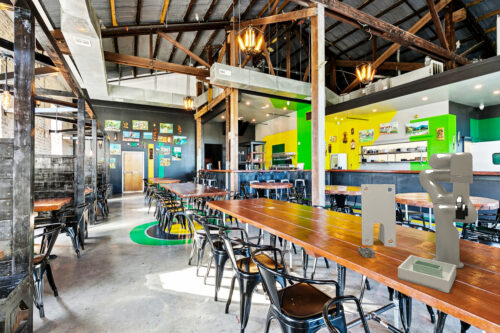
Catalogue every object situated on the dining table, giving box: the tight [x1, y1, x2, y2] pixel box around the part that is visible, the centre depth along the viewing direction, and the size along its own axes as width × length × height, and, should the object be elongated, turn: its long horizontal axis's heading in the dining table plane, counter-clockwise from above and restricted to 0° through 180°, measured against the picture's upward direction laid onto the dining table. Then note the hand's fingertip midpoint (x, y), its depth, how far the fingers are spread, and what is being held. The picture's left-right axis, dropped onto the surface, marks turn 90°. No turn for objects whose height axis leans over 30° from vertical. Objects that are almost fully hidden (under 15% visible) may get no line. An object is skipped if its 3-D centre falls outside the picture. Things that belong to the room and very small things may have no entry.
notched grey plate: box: [360, 183, 397, 248], centre depth 160 cm, size 20×14×40 cm
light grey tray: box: [397, 254, 457, 294], centre depth 109 cm, size 22×18×5 cm
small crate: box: [413, 260, 443, 278], centre depth 109 cm, size 6×10×5 cm, turn 43°
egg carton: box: [357, 245, 376, 259], centre depth 138 cm, size 11×8×4 cm
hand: (462, 217), depth 106 cm, fingers open, 9 cm apart
